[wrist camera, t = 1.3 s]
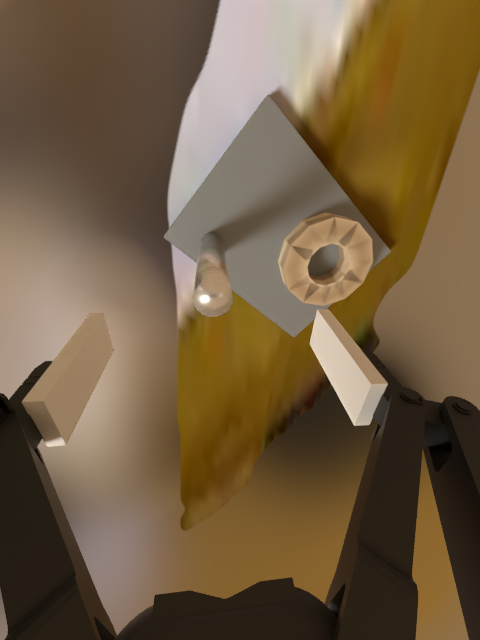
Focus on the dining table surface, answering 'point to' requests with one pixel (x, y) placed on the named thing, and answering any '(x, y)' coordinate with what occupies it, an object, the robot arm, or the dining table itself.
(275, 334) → the dining table surface
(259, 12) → the dining table surface
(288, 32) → the dining table surface
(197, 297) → the peg
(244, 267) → the board
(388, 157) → the dining table surface
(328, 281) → the tan faceted ring
